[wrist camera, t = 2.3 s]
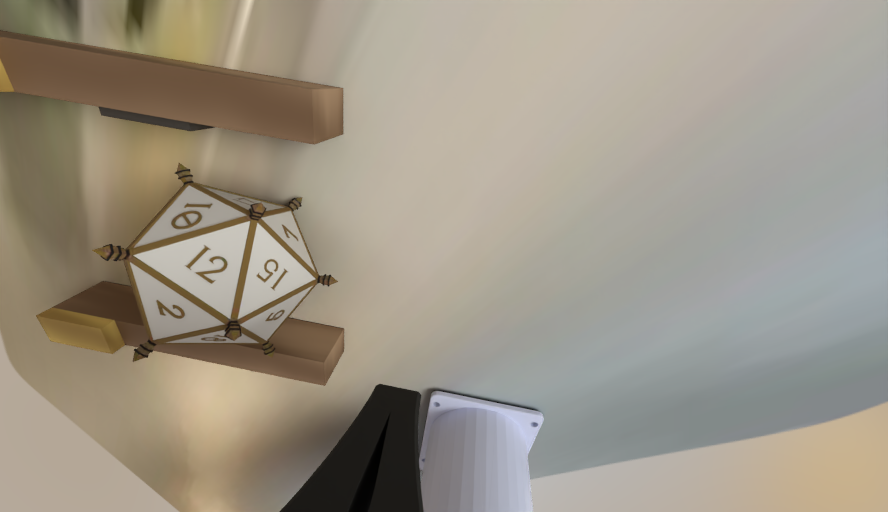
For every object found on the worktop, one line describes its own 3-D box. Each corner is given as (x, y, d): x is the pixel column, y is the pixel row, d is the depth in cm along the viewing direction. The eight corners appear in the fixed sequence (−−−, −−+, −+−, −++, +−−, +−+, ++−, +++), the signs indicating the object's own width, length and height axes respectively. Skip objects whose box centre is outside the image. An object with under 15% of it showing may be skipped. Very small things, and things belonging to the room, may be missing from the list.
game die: (305, 236, 23) (186, 362, 19) (203, 127, 17) (-6, 274, 13) (395, 263, 18) (262, 443, 14) (296, 122, 12) (4, 359, 8)
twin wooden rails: (344, 350, 23) (319, 396, 19) (113, 304, 23) (50, 341, 20) (342, 88, 15) (300, 89, 12) (-4, 29, 16) (-139, 15, 12)
